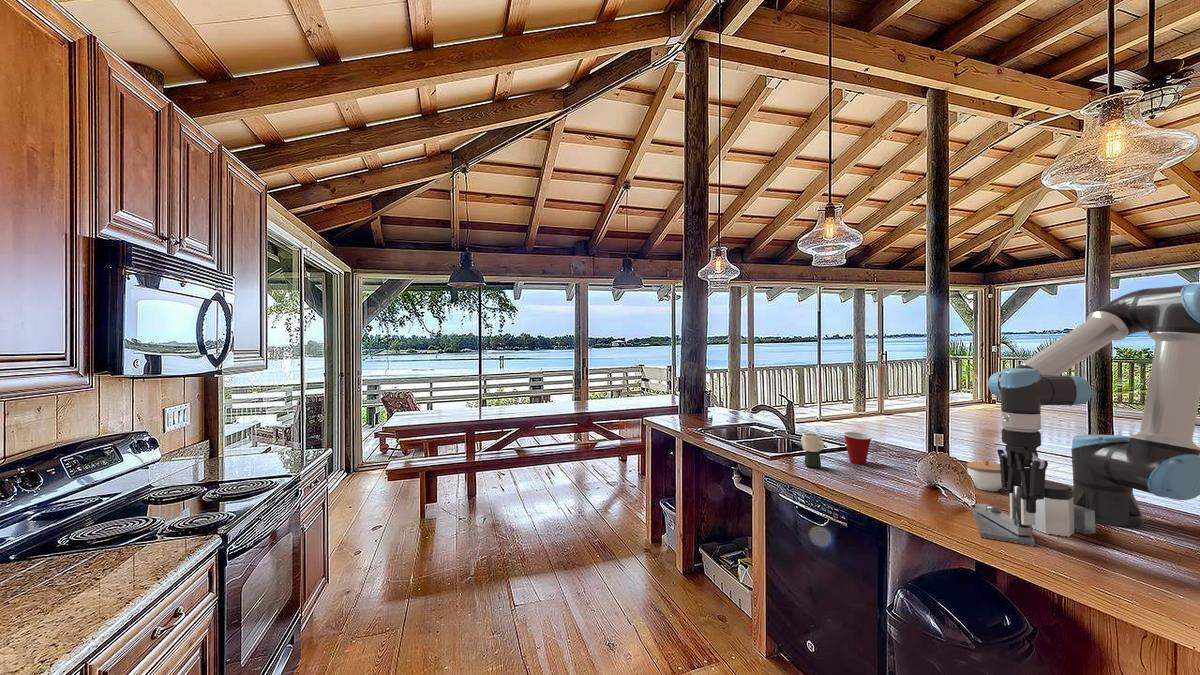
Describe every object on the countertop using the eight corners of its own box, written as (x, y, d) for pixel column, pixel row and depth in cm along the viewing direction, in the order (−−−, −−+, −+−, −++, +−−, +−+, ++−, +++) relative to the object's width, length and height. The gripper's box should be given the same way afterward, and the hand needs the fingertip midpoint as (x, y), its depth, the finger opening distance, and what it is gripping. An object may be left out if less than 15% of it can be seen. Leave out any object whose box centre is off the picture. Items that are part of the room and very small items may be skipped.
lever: (974, 510, 137) (973, 468, 137) (994, 511, 136) (993, 469, 136) (1019, 535, 119) (1018, 488, 119) (1042, 536, 118) (1041, 488, 118)
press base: (1019, 518, 134) (1019, 514, 134) (1035, 546, 116) (1035, 541, 116) (972, 511, 140) (972, 507, 140) (980, 537, 122) (980, 532, 122)
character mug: (830, 468, 189) (829, 436, 189) (817, 470, 186) (816, 437, 186) (808, 462, 199) (807, 431, 199) (795, 464, 196) (794, 433, 196)
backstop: (1061, 522, 131) (1060, 500, 131) (1095, 533, 123) (1094, 510, 123) (1052, 523, 130) (1051, 501, 130) (1085, 534, 122) (1084, 511, 122)
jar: (1084, 536, 121) (1083, 489, 121) (1054, 538, 121) (1053, 490, 121) (1049, 523, 130) (1048, 479, 130) (1021, 524, 130) (1019, 480, 130)
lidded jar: (962, 488, 162) (962, 460, 162) (972, 481, 168) (971, 455, 168) (1003, 495, 153) (1002, 466, 153) (1011, 488, 160) (1011, 461, 160)
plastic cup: (868, 467, 189) (867, 437, 189) (839, 463, 197) (839, 434, 197) (877, 462, 196) (876, 433, 196) (849, 458, 204) (849, 430, 204)
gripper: (982, 423, 129) (984, 510, 129) (1030, 435, 113) (1031, 534, 113) (1012, 423, 128) (1014, 510, 128) (1064, 435, 112) (1066, 535, 112)
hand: (1022, 521), depth 120 cm, fingers closed on lever, 3 cm apart
